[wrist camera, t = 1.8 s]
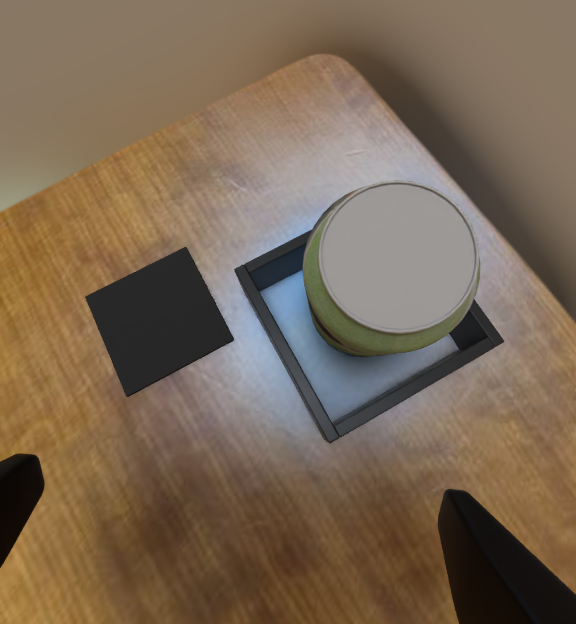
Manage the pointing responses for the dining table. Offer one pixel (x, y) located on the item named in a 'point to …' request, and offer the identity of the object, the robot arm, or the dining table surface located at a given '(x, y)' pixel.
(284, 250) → the square frame
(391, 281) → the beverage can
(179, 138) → the dining table surface
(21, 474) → the robot arm
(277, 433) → the dining table surface
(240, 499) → the dining table surface
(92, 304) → the coaster
